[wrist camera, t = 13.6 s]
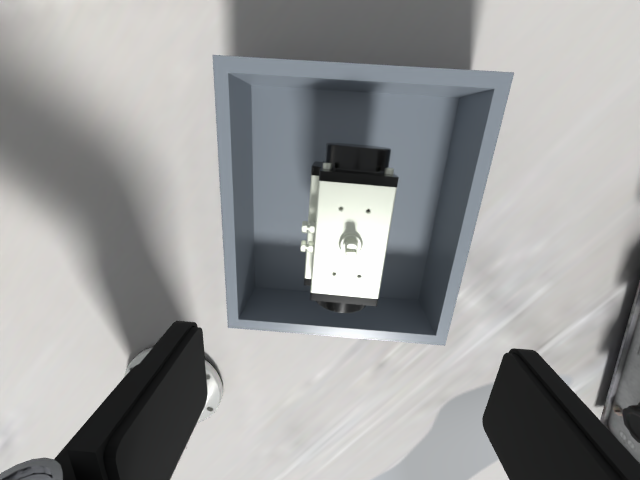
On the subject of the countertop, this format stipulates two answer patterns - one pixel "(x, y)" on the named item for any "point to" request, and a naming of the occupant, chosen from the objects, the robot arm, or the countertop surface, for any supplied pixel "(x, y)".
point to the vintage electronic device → (626, 387)
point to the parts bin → (309, 146)
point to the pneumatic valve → (348, 226)
